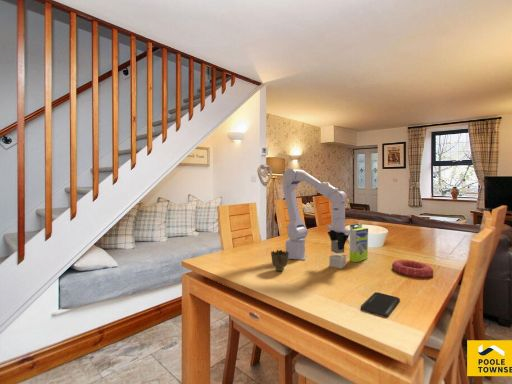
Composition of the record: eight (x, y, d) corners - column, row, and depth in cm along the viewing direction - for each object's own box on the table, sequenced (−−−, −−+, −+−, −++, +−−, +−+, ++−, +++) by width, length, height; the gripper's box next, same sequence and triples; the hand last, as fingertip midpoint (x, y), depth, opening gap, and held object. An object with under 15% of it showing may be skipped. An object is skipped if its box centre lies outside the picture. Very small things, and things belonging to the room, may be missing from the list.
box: (356, 262, 130) (356, 225, 129) (348, 260, 133) (348, 224, 133) (368, 258, 137) (369, 223, 136) (360, 257, 140) (361, 222, 139)
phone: (400, 298, 89) (387, 315, 78) (400, 301, 89) (387, 319, 78) (375, 291, 95) (359, 306, 83) (375, 294, 95) (359, 310, 83)
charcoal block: (336, 253, 122) (336, 242, 122) (331, 251, 126) (331, 240, 126) (344, 252, 124) (344, 241, 123) (338, 250, 127) (338, 239, 127)
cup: (276, 274, 114) (276, 255, 113) (267, 269, 120) (267, 251, 120) (291, 271, 117) (292, 252, 117) (282, 266, 124) (282, 249, 123)
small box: (334, 263, 129) (334, 253, 129) (346, 266, 125) (346, 255, 125) (328, 266, 125) (329, 255, 125) (341, 269, 121) (341, 258, 121)
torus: (384, 268, 123) (384, 260, 123) (410, 265, 127) (410, 257, 127) (413, 280, 108) (413, 271, 108) (442, 277, 112) (442, 268, 111)
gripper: (321, 216, 130) (321, 245, 130) (340, 220, 116) (340, 253, 117) (334, 215, 132) (334, 244, 133) (354, 219, 118) (354, 251, 119)
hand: (337, 248), depth 125 cm, fingers closed on charcoal block, 4 cm apart
